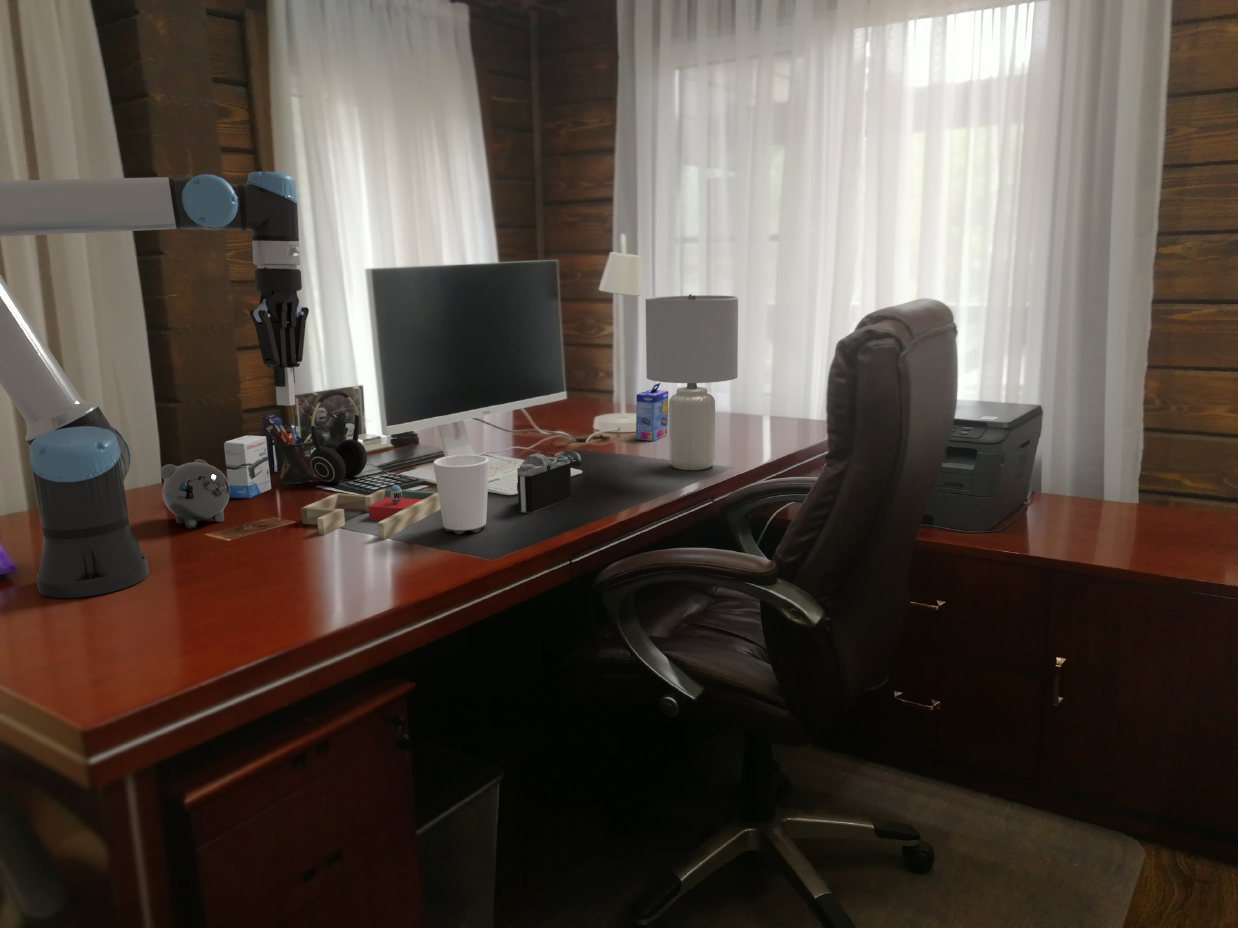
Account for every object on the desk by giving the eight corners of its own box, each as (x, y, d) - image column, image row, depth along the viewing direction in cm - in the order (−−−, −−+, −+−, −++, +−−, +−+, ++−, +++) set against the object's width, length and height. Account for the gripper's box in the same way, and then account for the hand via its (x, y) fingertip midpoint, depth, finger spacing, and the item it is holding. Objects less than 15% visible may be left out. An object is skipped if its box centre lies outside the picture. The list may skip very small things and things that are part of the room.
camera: (548, 492, 196) (547, 445, 193) (575, 496, 192) (574, 448, 190) (502, 509, 184) (500, 459, 181) (530, 514, 180) (527, 463, 178)
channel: (384, 539, 165) (383, 523, 165) (284, 531, 172) (282, 515, 171) (444, 507, 186) (443, 492, 185) (353, 500, 192) (352, 486, 191)
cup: (432, 525, 174) (428, 457, 171) (485, 518, 177) (482, 452, 174) (442, 539, 165) (438, 468, 162) (498, 533, 168) (494, 463, 165)
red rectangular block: (424, 513, 183) (422, 481, 182) (408, 523, 177) (405, 490, 175) (387, 511, 185) (385, 479, 184) (369, 520, 179) (367, 488, 177)
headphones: (302, 486, 206) (293, 394, 201) (348, 471, 219) (340, 385, 214) (332, 489, 202) (324, 396, 198) (377, 474, 215) (370, 387, 211)
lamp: (753, 470, 211) (755, 294, 202) (670, 480, 204) (668, 297, 195) (711, 453, 229) (711, 291, 221) (634, 462, 222) (631, 294, 213)
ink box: (249, 499, 195) (243, 443, 193) (228, 498, 196) (221, 442, 194) (272, 489, 203) (267, 435, 201) (251, 488, 204) (245, 434, 202)
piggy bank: (210, 509, 188) (203, 452, 185) (246, 522, 178) (240, 463, 175) (152, 521, 180) (144, 463, 177) (187, 536, 170) (179, 474, 167)
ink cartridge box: (654, 441, 245) (654, 386, 242) (635, 440, 247) (634, 385, 244) (669, 435, 254) (669, 381, 251) (650, 433, 256) (649, 380, 253)
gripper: (270, 267, 154) (279, 411, 159) (319, 267, 166) (326, 401, 171) (232, 267, 156) (242, 408, 161) (283, 267, 168) (291, 398, 173)
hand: (286, 404), depth 166 cm, fingers closed
